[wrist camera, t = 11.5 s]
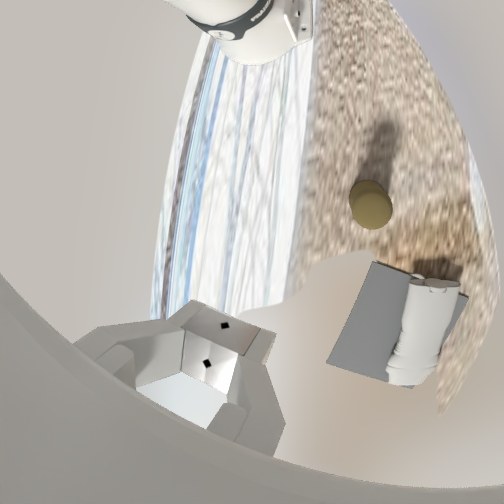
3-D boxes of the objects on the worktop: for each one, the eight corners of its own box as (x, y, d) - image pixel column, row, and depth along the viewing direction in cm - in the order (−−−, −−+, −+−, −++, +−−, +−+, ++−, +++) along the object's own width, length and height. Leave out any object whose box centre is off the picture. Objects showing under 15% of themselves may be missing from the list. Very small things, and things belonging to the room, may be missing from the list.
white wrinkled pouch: (467, 289, 35) (430, 390, 42) (458, 278, 38) (426, 377, 45) (410, 286, 37) (381, 391, 44) (404, 276, 41) (379, 377, 48)
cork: (389, 215, 40) (401, 231, 30) (352, 222, 42) (353, 239, 32) (382, 176, 39) (392, 180, 29) (344, 183, 41) (343, 189, 31)
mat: (372, 261, 43) (372, 261, 43) (468, 297, 38) (468, 298, 38) (326, 362, 51) (326, 363, 51) (411, 387, 46) (411, 388, 46)
